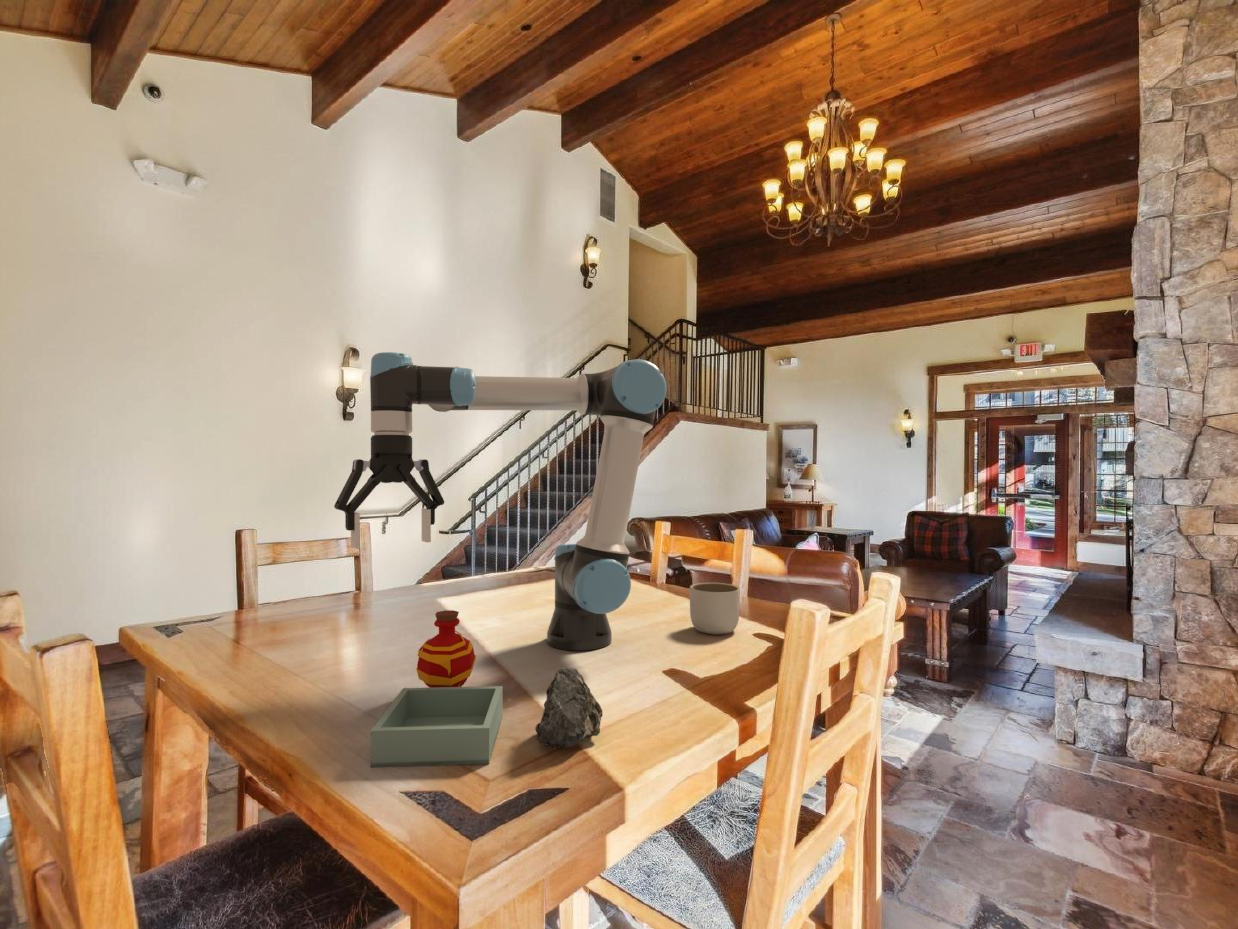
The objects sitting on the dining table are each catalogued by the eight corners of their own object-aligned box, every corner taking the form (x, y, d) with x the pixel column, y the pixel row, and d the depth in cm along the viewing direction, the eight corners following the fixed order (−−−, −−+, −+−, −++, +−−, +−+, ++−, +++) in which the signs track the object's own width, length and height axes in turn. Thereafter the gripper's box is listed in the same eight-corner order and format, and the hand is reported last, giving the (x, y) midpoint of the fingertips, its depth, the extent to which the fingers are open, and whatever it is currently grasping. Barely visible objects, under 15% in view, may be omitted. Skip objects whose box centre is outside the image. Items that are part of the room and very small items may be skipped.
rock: (538, 703, 100) (555, 655, 96) (595, 718, 100) (613, 671, 97) (526, 764, 88) (544, 712, 85) (589, 781, 89) (610, 730, 86)
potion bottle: (487, 690, 112) (487, 609, 112) (454, 712, 102) (454, 622, 102) (438, 683, 116) (439, 604, 116) (402, 703, 106) (402, 617, 106)
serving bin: (502, 716, 101) (502, 686, 101) (489, 764, 85) (489, 728, 85) (403, 718, 100) (403, 688, 100) (370, 767, 84) (370, 730, 84)
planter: (704, 621, 163) (704, 580, 163) (747, 629, 156) (748, 586, 156) (680, 632, 153) (680, 588, 153) (726, 640, 145) (726, 594, 145)
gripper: (444, 436, 129) (445, 537, 129) (316, 433, 113) (316, 548, 113) (460, 435, 123) (461, 541, 123) (327, 431, 107) (328, 553, 107)
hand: (392, 544), depth 118 cm, fingers open, 13 cm apart
